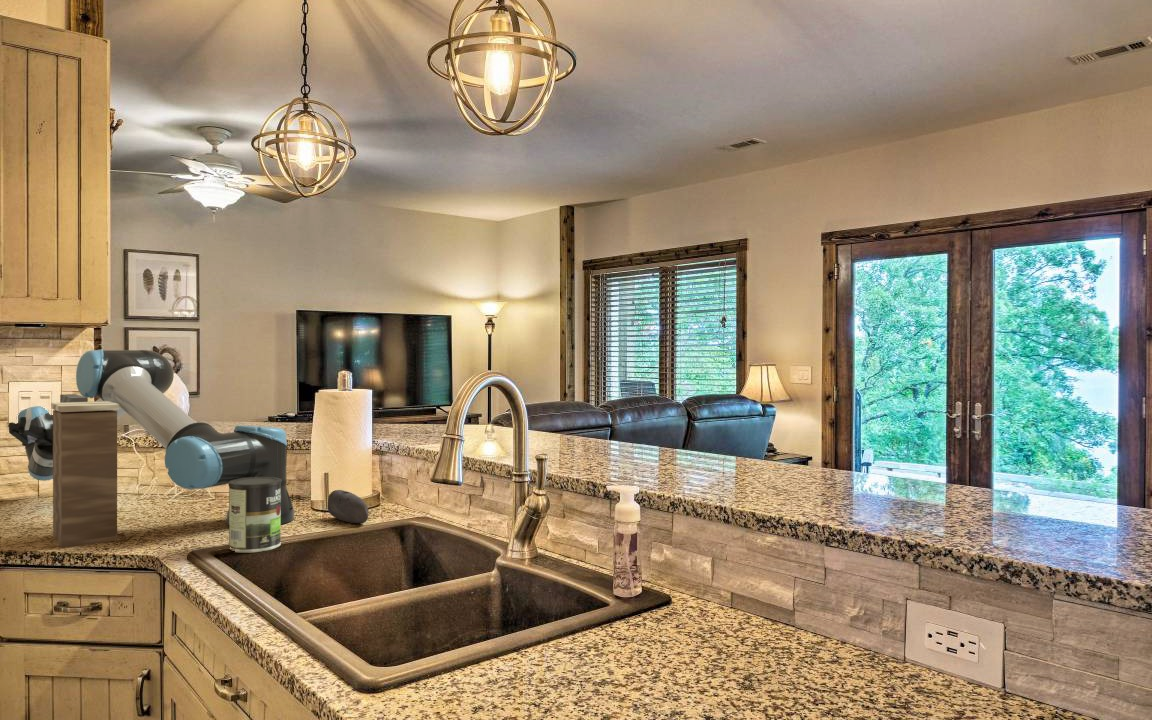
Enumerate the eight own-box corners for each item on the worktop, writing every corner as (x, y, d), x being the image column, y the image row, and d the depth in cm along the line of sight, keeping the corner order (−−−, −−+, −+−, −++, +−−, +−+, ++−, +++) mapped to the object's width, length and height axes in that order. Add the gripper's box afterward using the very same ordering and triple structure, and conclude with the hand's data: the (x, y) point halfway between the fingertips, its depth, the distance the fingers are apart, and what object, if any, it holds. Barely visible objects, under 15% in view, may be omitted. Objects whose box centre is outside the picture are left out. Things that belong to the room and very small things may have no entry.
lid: (40, 404, 177) (40, 395, 177) (93, 402, 184) (93, 393, 184) (60, 412, 156) (60, 402, 156) (119, 409, 163) (119, 400, 163)
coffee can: (288, 540, 164) (289, 476, 164) (268, 553, 154) (268, 484, 154) (242, 540, 165) (242, 475, 164) (218, 553, 154) (218, 484, 154)
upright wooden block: (53, 537, 166) (52, 410, 165) (105, 530, 172) (105, 408, 172) (62, 548, 157) (61, 413, 156) (117, 540, 164) (117, 411, 163)
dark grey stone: (375, 525, 180) (376, 496, 180) (355, 529, 176) (356, 499, 176) (344, 515, 190) (345, 487, 190) (325, 518, 186) (325, 490, 186)
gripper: (108, 456, 204) (123, 423, 191) (-8, 465, 188) (0, 429, 174) (105, 431, 207) (120, 396, 193) (-9, 437, 190) (-2, 400, 177)
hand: (63, 412), depth 184 cm, fingers open, 13 cm apart
